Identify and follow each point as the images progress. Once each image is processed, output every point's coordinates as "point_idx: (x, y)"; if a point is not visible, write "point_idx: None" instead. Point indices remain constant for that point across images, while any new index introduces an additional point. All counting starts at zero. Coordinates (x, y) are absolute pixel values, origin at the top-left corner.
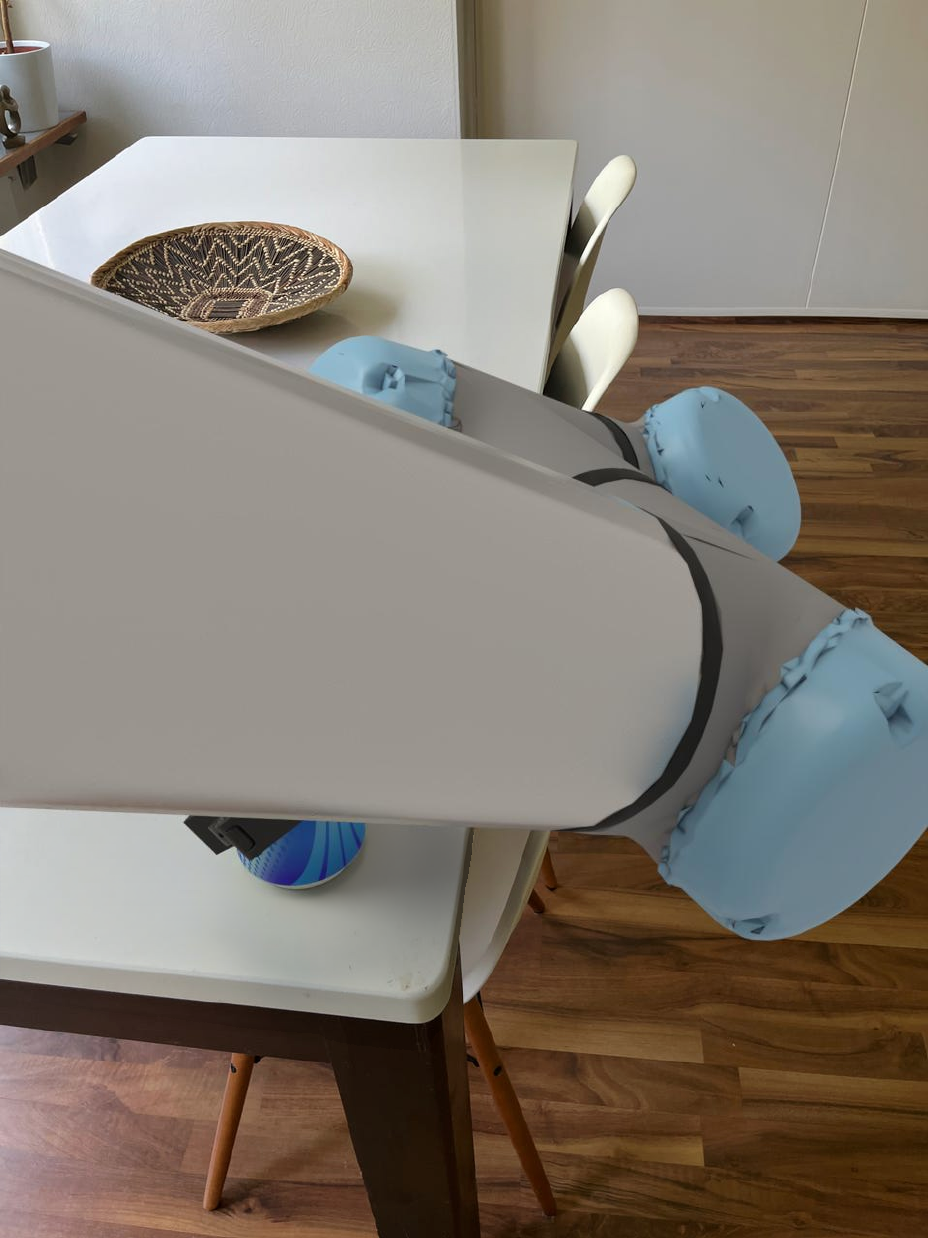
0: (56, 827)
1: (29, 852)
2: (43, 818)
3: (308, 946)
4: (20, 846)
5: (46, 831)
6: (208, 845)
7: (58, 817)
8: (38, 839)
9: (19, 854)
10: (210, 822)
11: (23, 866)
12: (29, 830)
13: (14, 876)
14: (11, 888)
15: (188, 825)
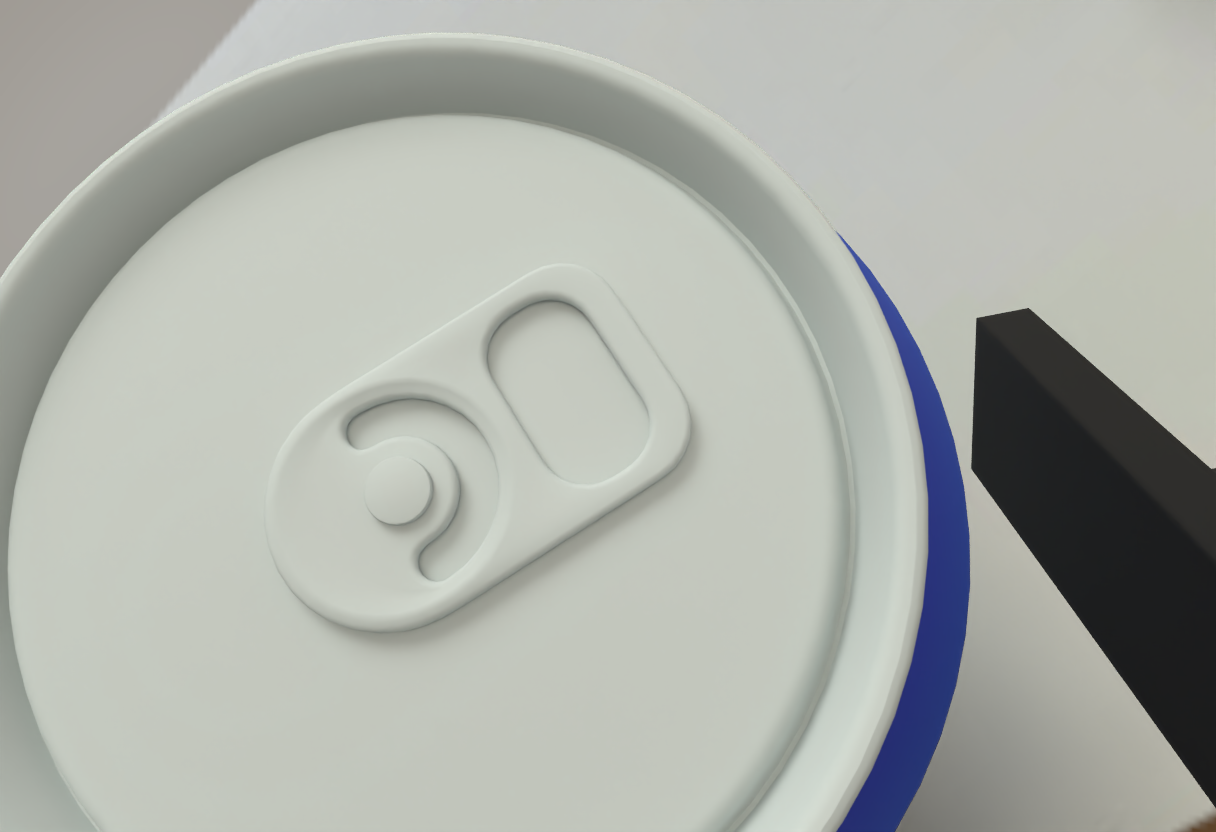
0: (333, 45)
1: (253, 59)
2: (336, 2)
3: None
4: (255, 31)
5: (313, 38)
6: None
7: (356, 25)
8: (288, 44)
9: (238, 47)
10: None
11: (219, 81)
12: (296, 8)
13: (191, 89)
14: (166, 111)
15: None
